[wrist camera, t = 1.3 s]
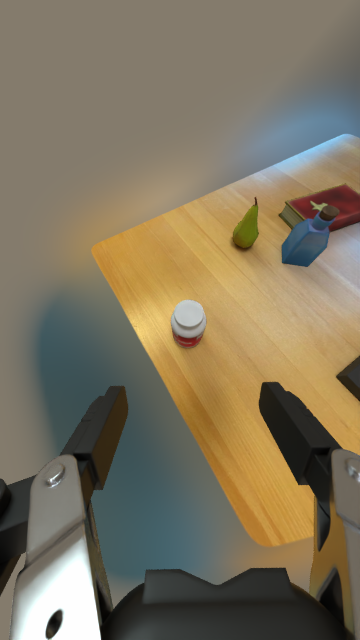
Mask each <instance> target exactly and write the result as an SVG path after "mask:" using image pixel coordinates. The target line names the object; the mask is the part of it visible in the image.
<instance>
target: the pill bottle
mask: <svg viewBox="0 0 360 640" xmlns="http://www.w3.org/2000/svg"><path fill="white" fill-rule="evenodd" d="M171 326H172V332H173V337H174V340H175V342H176V343H177V344H178V345H180V346H181V347H184V348H192V347H194V346H196V345H197V344H198V343H199V342H200V340H201V338H202V335H203V332H204V329H205V327H206V316H205V314H204V310H203V308H202V306H201V305H200V304H199V303H198V302H196V301H194V300H184V301H181V302H180V303H179V304H178V305H177V306H176V307H175V310H174V312H173V314H172V316H171Z"/></svg>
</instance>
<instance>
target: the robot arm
mask: <svg viewBox="0 0 360 640" xmlns="http://www.w3.org/2000/svg"><path fill="white" fill-rule="evenodd" d="M259 409H260V413H261V415H262V417H263V419H264V421H265V422H266V424H267V426H268V428H269V430H270V432H271V434H272V436H273V438H274V439H275V441H276V443H277V445H278V447H279V449H280V451H281V453H282V455H283V456H284V458H285V460H286V462H287V464H288V466H289V468H290V470H291V472H292V473H293V475H294V477H295V479H296V481H297V483H298V485H309V486H310V488H311V489H312V491H313V493H314V495H315V496H314V553H313V554H314V555H313V563H312V568H311V575H310V586H309V593H307V592H306V591H305V590H304V589H302V588H300V587H299V586H297V585H295V584H293V583H291V582H290V580H289V577H288V574H287V571H286V568H251V569H249V570H247V571H245V572H243V573H241V574H239V575H237V576H235V577H234V578H232V579H230V580H228V581H226V582H224V583H222V584H221V585H213V584H211V583H209V582H207V581H205V580H203V579H200V578H198V577H196V576H194V575H192V574H189V573H187V572H185V571H182V570H180V569H164V570H146V574H145V582H144V583H142V584H140V585H138V586H137V587H136V588H134V589H133V590H132V591H130V592H129V593H128V594H127V595H126V596H125V597H124V598H123V599H122V600H121V601H120V602H119V603H118V604H117V606H116V607H115V608H114V609H113V604H112V599H111V594H110V589H109V585H108V580H107V576H106V572H105V568H104V564H103V560H102V556H101V551H100V545H99V540H98V535H97V530H96V524H95V519H94V514H93V508H92V503H91V500H90V499H91V496H92V494H93V491H94V490H103V487H104V484H105V481H106V478H107V475H108V472H109V469H110V466H111V463H112V460H113V457H114V454H115V451H116V449H117V446H118V443H119V440H120V437H121V434H122V431H123V428H124V425H125V422H126V419H127V415H128V403H127V397H126V391H125V387H124V386H110V387H109V389H108V390H107V392H106V394H105V396H99V397H98V398H97V399H96V400H95V401H94V402H93V403H92V404H91V405H90V407H89V408H88V410H87V412H86V414H85V415H84V417H83V418H82V420H81V422H80V423H79V425H78V426H77V428H76V430H75V431H74V433H73V434H72V436H71V438H70V439H69V441H68V443H67V444H66V446H65V447H64V449H63V451H62V452H61V454H60V455H59V456H58V457H57V458H54V459H53V460H51V461H50V462H49V463H47V464H46V465H45V466H44V467H43V468H42V469H41V470H40V471H39V473H38V474H37V475H35V476H32V477H29V478H27V479H24V480H21V481H18V482H15V483H13V484H10V485H6V483H5V482H4V480H2V479H0V595H1V593H2V592H3V590H4V588H5V586H6V584H7V582H8V580H9V578H10V576H11V573H12V572H13V570H14V568H15V566H16V564H17V562H18V560H19V558H20V556H21V554H23V553H25V552H26V561H25V565H24V568H23V569H22V570H21V571H20V572H19V574H18V576H17V579H16V583H15V588H14V596H13V605H12V615H11V625H10V636H9V640H360V456H359V455H357V454H355V453H353V452H351V451H348V450H344V449H343V448H342V447H341V446H340V445H339V444H338V443H337V442H336V440H335V439H334V438H333V437H332V436H331V435H330V433H329V432H328V431H327V430H326V429H325V428H324V427H323V425H322V424H321V423H320V422H319V421H318V420H317V418H316V417H315V416H313V414H312V413H311V412H310V410H309V409H307V407H306V406H305V405H304V403H303V402H302V401H301V400H300V399H299V398H298V397H296V396H295V395H294V394H292V393H291V392H289V391H285V390H284V388H283V387H282V386H281V385H280V384H279V383H278V382H263V383H262V386H261V392H260V398H259Z"/></svg>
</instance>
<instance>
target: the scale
mask: <svg viewBox="0 0 360 640" xmlns="http://www.w3.org/2000/svg"><path fill="white" fill-rule="evenodd" d="M336 377H337V378H338V379H339V380H340V381H341V382H342V383H343V384H344V385H345V386H346V388H347V389H348V390H349V391H350V392H351V393H352V394H353V395H354V396H355V397H356V398H357V399H358V400H359V401H360V356H359V357H358V358H357V359H356V360H354V361H353V362H352V363H351V364H350V365H349V366H347V367H346V368H345V369H344V370H343V371H342V372H341V373H339V374H338V375H337V376H336Z"/></svg>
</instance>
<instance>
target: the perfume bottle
mask: <svg viewBox="0 0 360 640" xmlns="http://www.w3.org/2000/svg"><path fill="white" fill-rule="evenodd" d="M338 214H339V210H338V209H337V208H336V207H334V206H330V205H327V206H324V207H323V208H322V210H321V211H320V212H318V213H317V215H316V216H315V217H314V219H306V220H304V221H302V222H300V223H298V224H296V225H295V227H294V228H293V230H292V231H291V233H290V234H289V236H288V237H287V239H286V240H285V242H284V243H283V245H282V263H285V264H292V265H298V266H305V267H308V266H309V265H310V264H311V263H312V262H313V261H314V260H315V259H316V258H317V257H318V256H319V255H320V254H321V253H322V252H323V251H324V250H325V249H326V248H327V243H328V238H329V228H328V226H329V225H331V224H332V222H333V221H334V220H335V217H336V216H337V215H338Z"/></svg>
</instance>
